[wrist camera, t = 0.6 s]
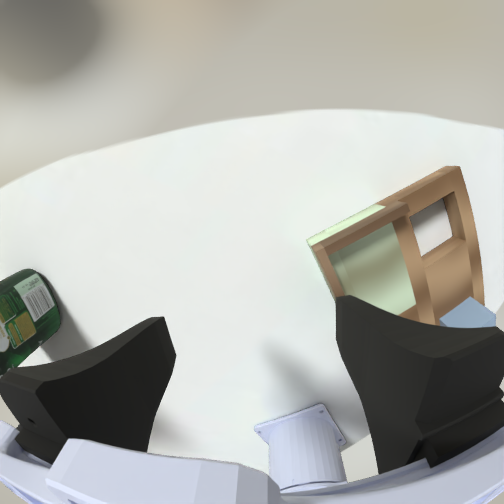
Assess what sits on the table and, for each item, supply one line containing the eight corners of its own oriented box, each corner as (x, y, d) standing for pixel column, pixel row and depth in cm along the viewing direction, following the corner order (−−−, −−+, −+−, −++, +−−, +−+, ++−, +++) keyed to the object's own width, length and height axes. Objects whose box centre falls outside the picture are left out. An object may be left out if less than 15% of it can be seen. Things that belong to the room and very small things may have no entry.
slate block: (472, 327, 19) (494, 347, 15) (442, 348, 20) (463, 372, 16) (470, 296, 18) (495, 314, 15) (439, 318, 19) (463, 341, 15)
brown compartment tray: (474, 319, 21) (492, 333, 18) (369, 386, 23) (380, 408, 20) (445, 166, 18) (471, 166, 14) (306, 239, 20) (315, 252, 16)
